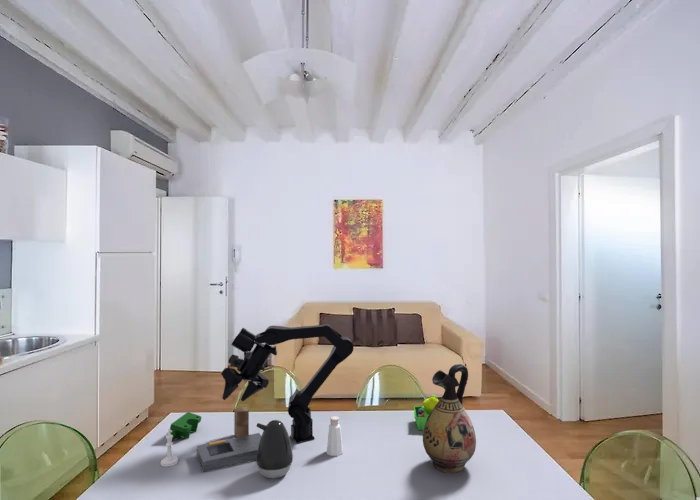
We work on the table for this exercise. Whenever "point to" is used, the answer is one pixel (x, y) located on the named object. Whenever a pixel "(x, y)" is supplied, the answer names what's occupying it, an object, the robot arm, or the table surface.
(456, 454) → the ceramic jug
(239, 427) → the walnut peg
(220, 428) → the table surface
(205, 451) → the grey peg hole board
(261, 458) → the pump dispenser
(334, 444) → the pepper shaker
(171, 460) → the chess piece
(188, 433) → the clamp
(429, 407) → the fruit basket
